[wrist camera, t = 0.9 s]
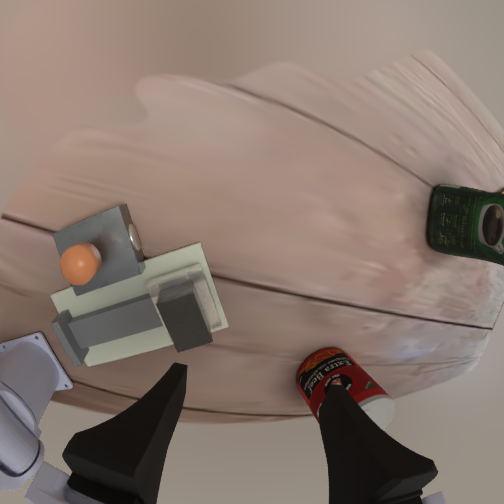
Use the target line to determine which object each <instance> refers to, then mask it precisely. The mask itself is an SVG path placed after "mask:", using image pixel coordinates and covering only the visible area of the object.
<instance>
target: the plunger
mask: <svg viewBox="0 0 504 504" xmlns="http://www.w3.org/2000/svg"><path fill="white" fill-rule="evenodd" d="M60 267H61V271H62V274H63V276H64V277H65V279H66V280H67V281H69V282H70V283H72V284H74V285H84V284H86V283H87V282H88V281H89V280H90V279H92V278H93V277H94V276H95V275H96V274H97V273H98V271H99V270H100V267H101V256H100V253H99V251H98V249H97V248H96V247H95V246H94V245H92V244H91V243H88V242H81V243H78V244H76V245H74V246H72V247H71V248H69V249H67V250H66V251H65V252H64V253H63V255H62V257H61V261H60Z"/></svg>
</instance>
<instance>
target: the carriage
mask: <svg viewBox="0 0 504 504" xmlns="http://www.w3.org/2000/svg"><path fill="white" fill-rule="evenodd" d="M146 287H147V289H148V292H149V294H150V296H151V299H152V301H153V304H154V306H155V308H156V310H157V313H158V315H159V317H160V320H161V322H162V324H163V326H164V328H165V331H166V333H167V335H168V337H169V339H170V341H171V343H172V344H173V343H174V345H175V348H176V350H177V352H181V351H184V350H188V349H191V348H194V347H198V346H201V345H204V344H207V343H210V342H213V339H212V334H211V332H212V331H215V330H218V329H221V328H223V326H222V323H221V320H220V316H219V313H218V310H217V308H216V307H215V304H214V301H213V298H212V296H211V293H210V290H209V287H208V284H207V282H206V279H205V275H204V271H203V268H202V265H201V263H198V264H195V265H192V266H189V267H186V268H183V269H180V270H177V271H174V272H171V273H168V274H165V275H162V276H159V277H156V278H153V279H150V281H149V282H147V284H146Z"/></svg>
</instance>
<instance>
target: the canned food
mask: <svg viewBox="0 0 504 504" xmlns="http://www.w3.org/2000/svg"><path fill="white" fill-rule="evenodd" d="M297 381H298V388H299V391H300V392H301V394H302V396H303V398H304V399H305V401H306V403H307V404H308V406H309V408H310V409H311V411H312V413H313V414H314V416H315V418H316V419H317V421H318V423H319V410H318V409H319V408H320V406H321V404H322V402H323V400H324V398H325V396H326V394H327V392H328V390H329V388H330V386H331V384H336V385H343V386H344V387H345V389H346V390H347V391H348V392H349V394H350V395H351V396H352V397H353V398H354V400H355V401H356V402H357V403H358V405H359V406H360V407H361V408H362V409H363V410H364V412H365V413H366V414H367V415H368V416H369V417H370V418H371V419H372V420H373V421H374V422H375V423H376V424H377V425H378V426H379V427H380V428H381V429H382V430H384V429H385V428H386V426H387V425H388V424H389V422H390V421H391V419H392V417H393V415H394V412H395V403H394V401H393V400H392V398H391V397H390V396H389V395H388V394H387V393H386V392H385V391H384V390H383V389H382V388H381V387H380V386H379V385H378V384H377V383H376V382H375V381H374V380H373V379H372V378H371V377H370V376H369V375H368V374H367V373H366V372H365V371H364V370H363V369H362V368H361V367H360V366H359V365H358V364H357V363H356V362H355V361H354V360H353V359H352V358H351V357H350V356H349V355H348V354H347V353H346V352H344V351H342V350H340V349H336V348H326V349H323V350H320V351H318V352H316V353H314V354H313V355H311V356H310V357H309V358H308V359H307V360H306V361H305V362H304V363H303V365H302V366H301V368H300V370H299V373H298V377H297Z"/></svg>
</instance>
